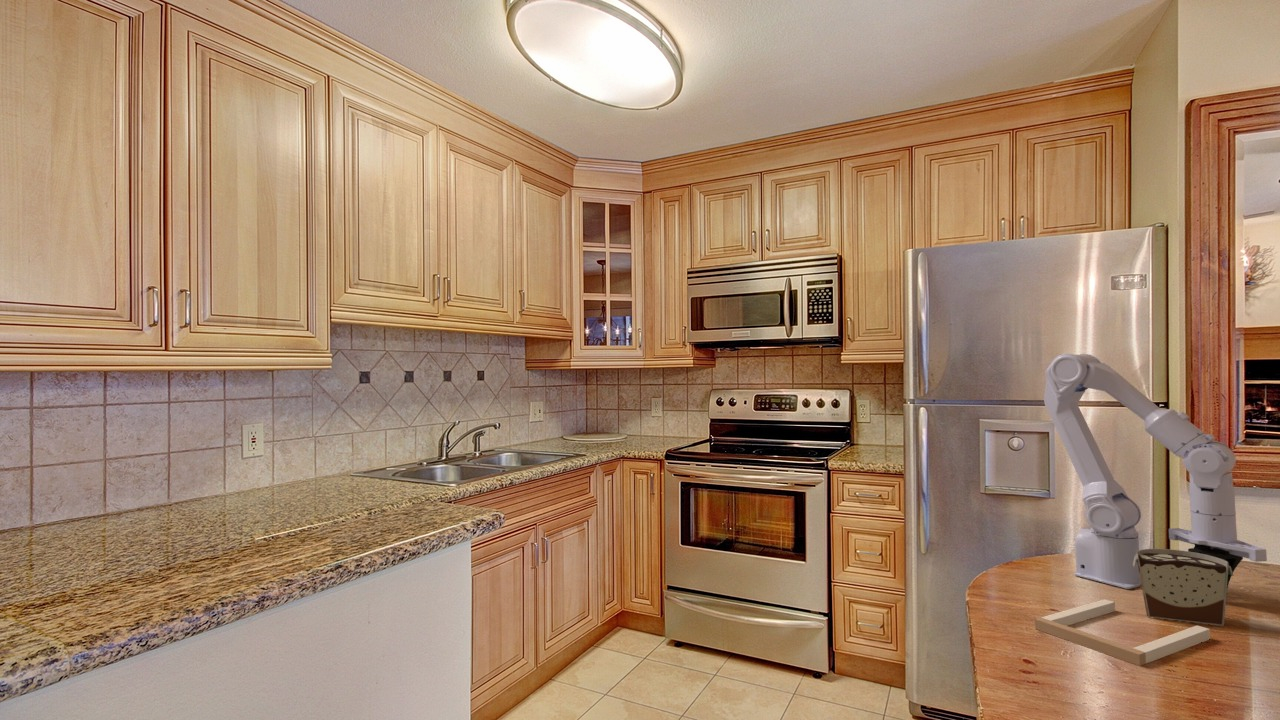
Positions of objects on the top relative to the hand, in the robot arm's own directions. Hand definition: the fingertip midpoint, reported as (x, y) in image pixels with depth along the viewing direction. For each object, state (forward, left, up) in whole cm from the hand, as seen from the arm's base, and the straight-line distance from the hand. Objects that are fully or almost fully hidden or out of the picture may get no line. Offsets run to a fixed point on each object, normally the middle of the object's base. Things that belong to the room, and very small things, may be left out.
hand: (1217, 592), depth 104 cm
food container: (0, -13, -2) cm, 13 cm away
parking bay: (0, -29, -2) cm, 29 cm away
